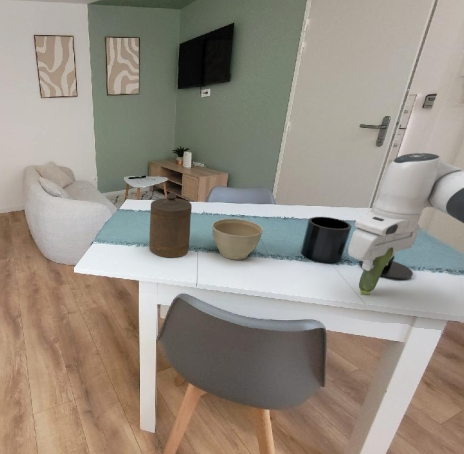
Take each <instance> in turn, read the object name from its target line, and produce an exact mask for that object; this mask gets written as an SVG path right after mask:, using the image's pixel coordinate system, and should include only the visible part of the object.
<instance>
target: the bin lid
mask: <svg viewBox="0 0 464 454" xmlns="http://www.w3.org/2000/svg"><path fill="white" fill-rule="evenodd" d="M394 259H395V255H394V256H393V257H392V258H391V259H390V260H389V262H388V265H386V266H385V267H384V269H383V271H382V273H381V275H380V277H384V278H390V279H397V280H405V279H410V278H412V276H413V274H414V272H413V271H412V270H411V268H409V267H407V266H406V265H404V264H403V263H400V262H397V261H394ZM358 263H359V266H361V267H362V265H363V261H360V260H358Z"/></svg>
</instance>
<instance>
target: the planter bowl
mask: <svg viewBox="0 0 464 454" xmlns="http://www.w3.org/2000/svg"><path fill="white" fill-rule="evenodd" d="M211 228H212V237H213V241H214V244H215V246H216V247H217V249H218V251H219V255H221V256H222V257H224V258H226V259H229V260H235V261H236V260H237V261H238V260H244V259H247V258H248V256H249V254H251V253H252V252H253V251H254V250H255V249H256V248H257V246H258V245H259V243H260V241H261V239H262V234H263V232H264V228H263V227H262V226H261V225H260V224H258V223H256V222H253V221H250V220H247V219H241V218H221V219H217V220H216V221H214V222H213V223H212V226H211Z"/></svg>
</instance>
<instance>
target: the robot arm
mask: <svg viewBox="0 0 464 454" xmlns="http://www.w3.org/2000/svg"><path fill="white" fill-rule="evenodd" d="M425 208H433V209H435V210H437V211H439V212H442V213H444V214H445V215H449V216H450V217H452V218H454V219H455V220H457V221H458V222H461V223H462V224H464V168H461V167H458V166H455V165H453V164H450V163H448V162H446V161H445V160H443V159H442V158H441V156H440V155H438V154H436V153H428V152H427V153H426V152H422V153H419V152H417V153H416V152H413V153H407V154H402V155H400V156H397V157H395V158H394V159H393V160H392V161H391V162H390V164H389V165H388V167H386V170H385V172H384V174H383V177H382V180H381V182H380V185H379V187H378V196H377V198H376V200H375V201H374V203H373V205H372V207H371V209H370V210H368V211H367V213H365V214H364V215H362V216H361V217H359V218H357V219H356V220H355V222H354V227H355V230H354V231H353V233H352V235H351V238H350V242H349V245H348V248H347V253H348V256H349V257H351V258H353V259H355V260H358V261H363V265H362V266H361V269H362V270H364V269H365V270H367V271H369V270H372V269H373V267H374V264H373V260H375V258H376V257H379V256H383V255H385V254H386V252H387V251H388V249H389V248H391V247H393V254H392V257H393V256H395V255H396V253H397V252H402V251H404V250H409V249H411V248H412V247H413V246H414V244H415V242H416V240H417V236H418V233H419V231H420V225H419V222H420V218H421V216H422V214H423V211H424V210H425ZM392 257H391V258H392ZM387 265H388V264H387Z"/></svg>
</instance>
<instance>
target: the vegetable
mask: <svg viewBox="0 0 464 454" xmlns="http://www.w3.org/2000/svg"><path fill="white" fill-rule="evenodd" d="M392 254H393V247H391V248H389V249H388V251H387V252H386V254H385V255H383V256H379V257H376V258H375V260H373V264H374V267H373V269H372V270H369V271H367V270H365V269H363V271H362V273H361V275H360V278H359V282H358V289H359V291H360V294H361V295H370V294H371V293H372V292H373V291H375V289H376V286H377V284H378V282H379V280H380V277H381V273H382V271H383V269H384V267H385V266H386V265H387V264H388V262H389V260H390V259H391V257H392Z"/></svg>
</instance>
